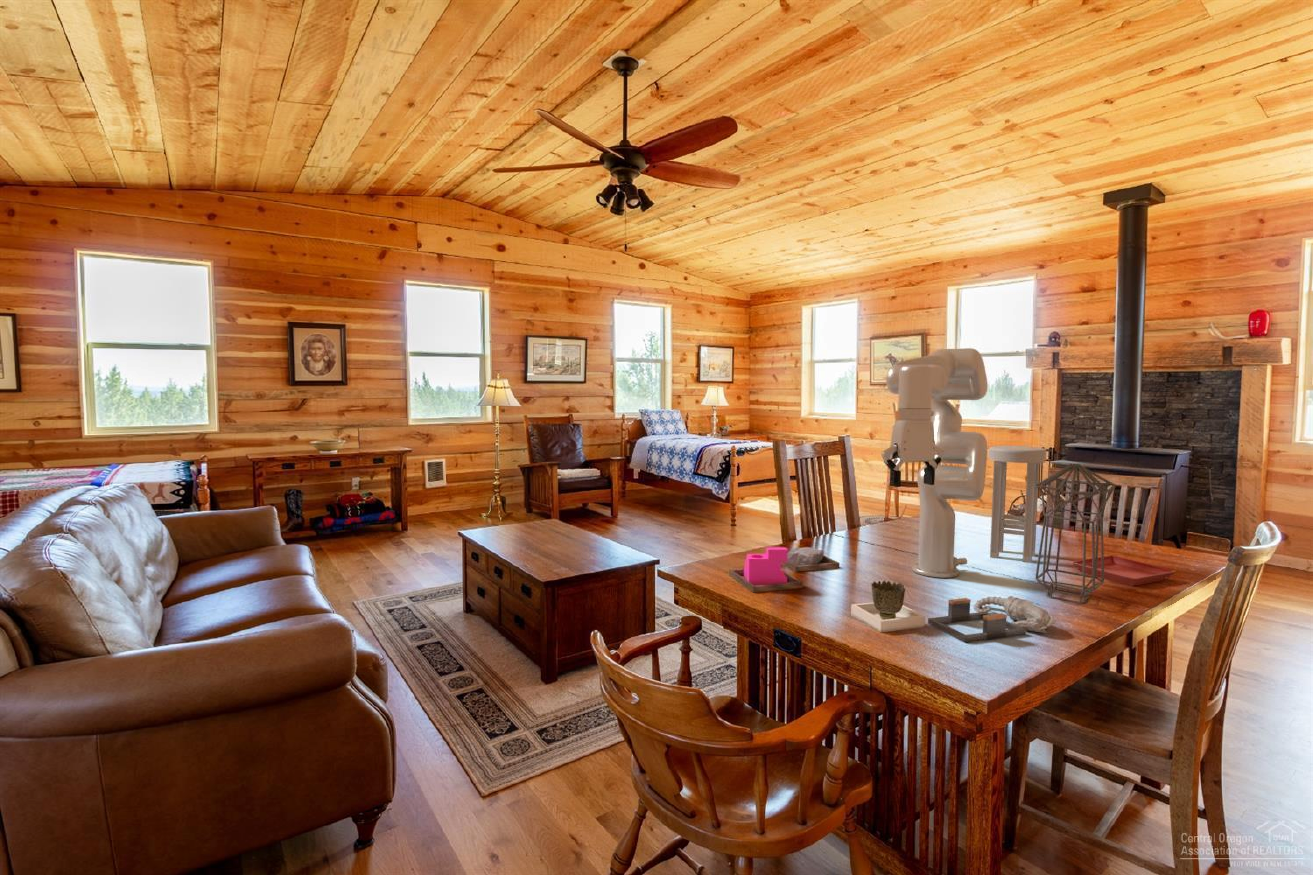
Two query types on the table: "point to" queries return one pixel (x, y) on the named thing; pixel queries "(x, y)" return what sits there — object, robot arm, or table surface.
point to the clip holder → (961, 612)
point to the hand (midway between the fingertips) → (912, 485)
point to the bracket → (766, 567)
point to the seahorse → (1019, 612)
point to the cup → (888, 598)
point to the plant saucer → (1125, 570)
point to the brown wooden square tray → (770, 587)
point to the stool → (999, 489)
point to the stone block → (805, 556)
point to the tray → (872, 618)
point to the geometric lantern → (1098, 515)
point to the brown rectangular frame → (828, 565)
